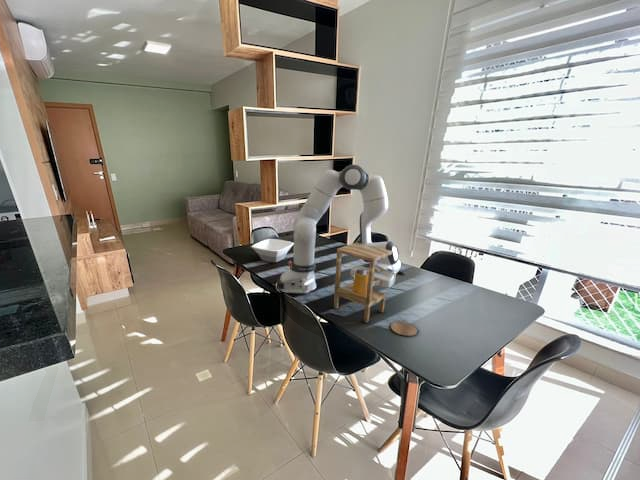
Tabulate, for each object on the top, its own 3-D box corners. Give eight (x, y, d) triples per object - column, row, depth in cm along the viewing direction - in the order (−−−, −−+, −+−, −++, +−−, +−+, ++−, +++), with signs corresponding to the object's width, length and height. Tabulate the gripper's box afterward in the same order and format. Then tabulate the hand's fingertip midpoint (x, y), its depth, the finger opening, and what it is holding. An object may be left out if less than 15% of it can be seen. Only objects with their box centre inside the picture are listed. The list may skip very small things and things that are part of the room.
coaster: (397, 336, 114) (397, 336, 114) (386, 323, 124) (386, 322, 123) (421, 335, 115) (421, 334, 115) (409, 322, 124) (409, 321, 124)
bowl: (296, 256, 207) (296, 242, 203) (277, 267, 187) (277, 252, 183) (269, 250, 219) (268, 237, 215) (248, 260, 199) (247, 246, 196)
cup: (355, 296, 128) (356, 275, 124) (350, 289, 134) (352, 269, 130) (369, 295, 128) (371, 274, 125) (364, 289, 134) (366, 269, 131)
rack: (366, 323, 124) (373, 258, 113) (333, 307, 137) (337, 248, 125) (383, 311, 133) (391, 250, 122) (351, 298, 145) (355, 242, 134)
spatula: (406, 273, 174) (407, 269, 173) (400, 276, 170) (401, 272, 169) (373, 262, 191) (373, 259, 191) (366, 265, 188) (367, 261, 187)
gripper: (360, 261, 144) (343, 268, 136) (399, 272, 130) (383, 281, 122) (359, 273, 147) (342, 280, 138) (397, 285, 132) (381, 294, 124)
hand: (361, 281), depth 130 cm, fingers open, 8 cm apart
